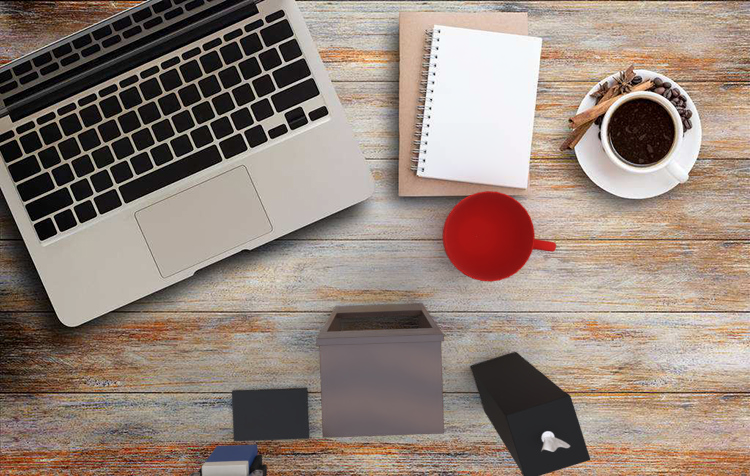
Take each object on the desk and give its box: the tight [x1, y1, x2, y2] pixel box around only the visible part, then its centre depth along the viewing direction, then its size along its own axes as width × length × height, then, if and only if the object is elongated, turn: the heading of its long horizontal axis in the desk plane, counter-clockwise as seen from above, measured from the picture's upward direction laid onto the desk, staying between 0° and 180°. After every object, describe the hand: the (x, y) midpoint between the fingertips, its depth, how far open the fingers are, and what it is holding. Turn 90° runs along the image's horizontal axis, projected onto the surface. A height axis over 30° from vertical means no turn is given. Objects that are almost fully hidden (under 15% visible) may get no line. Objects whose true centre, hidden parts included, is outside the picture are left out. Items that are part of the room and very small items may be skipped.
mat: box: [231, 387, 310, 442], centre depth 87 cm, size 8×12×1 cm, turn 92°
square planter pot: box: [315, 302, 445, 439], centre depth 74 cm, size 12×14×28 cm
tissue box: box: [469, 351, 591, 476], centre depth 74 cm, size 8×8×28 cm
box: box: [201, 444, 259, 476], centre depth 64 cm, size 5×5×6 cm
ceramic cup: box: [441, 190, 557, 283], centre depth 82 cm, size 13×17×10 cm
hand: (236, 468), depth 67 cm, fingers closed on box, 5 cm apart
